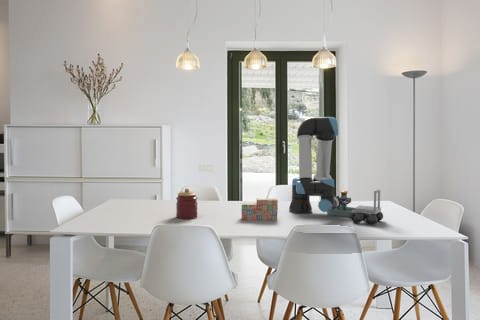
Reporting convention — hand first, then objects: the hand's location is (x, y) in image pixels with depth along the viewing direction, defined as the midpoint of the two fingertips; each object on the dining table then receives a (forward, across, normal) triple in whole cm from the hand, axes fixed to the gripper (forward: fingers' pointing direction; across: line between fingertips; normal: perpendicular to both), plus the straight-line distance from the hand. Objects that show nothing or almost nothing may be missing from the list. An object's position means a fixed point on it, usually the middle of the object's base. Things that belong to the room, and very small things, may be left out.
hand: (346, 198), depth 243 cm
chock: (-15, +10, -10) cm, 21 cm away
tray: (-5, 0, -10) cm, 11 cm away
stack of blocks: (-53, -35, -10) cm, 64 cm away
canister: (-75, -73, -10) cm, 105 cm away
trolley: (-21, +20, -10) cm, 31 cm away
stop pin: (-5, 0, -7) cm, 9 cm away
